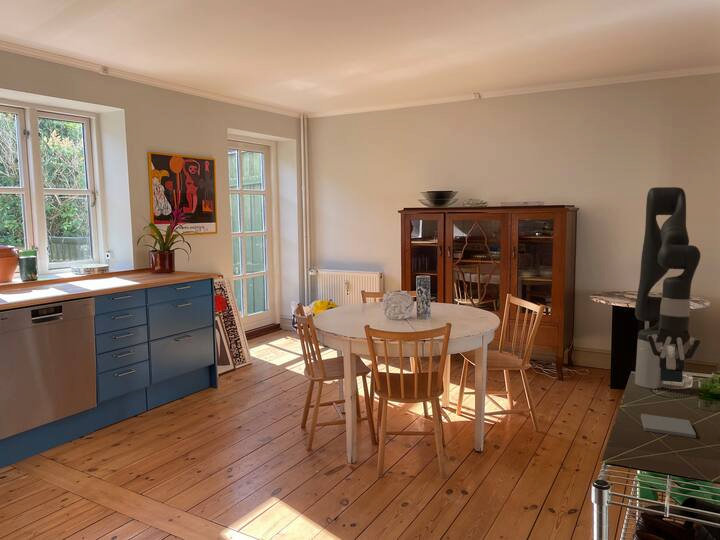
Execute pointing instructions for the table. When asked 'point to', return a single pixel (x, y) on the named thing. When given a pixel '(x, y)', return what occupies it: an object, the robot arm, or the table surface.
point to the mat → (667, 425)
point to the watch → (671, 366)
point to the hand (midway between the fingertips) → (670, 370)
